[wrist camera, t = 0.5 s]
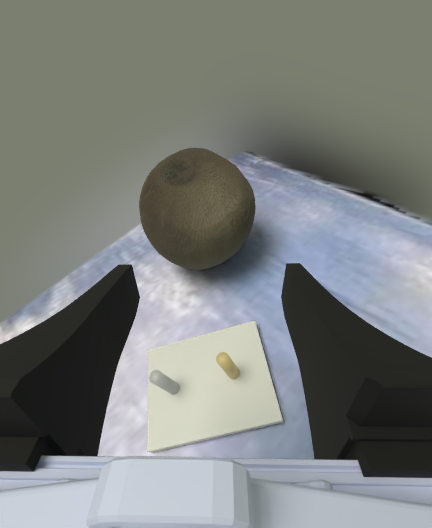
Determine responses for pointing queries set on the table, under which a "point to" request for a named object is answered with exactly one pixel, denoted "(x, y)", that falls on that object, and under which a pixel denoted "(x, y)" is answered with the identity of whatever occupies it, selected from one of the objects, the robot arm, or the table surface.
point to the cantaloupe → (196, 208)
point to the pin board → (209, 388)
